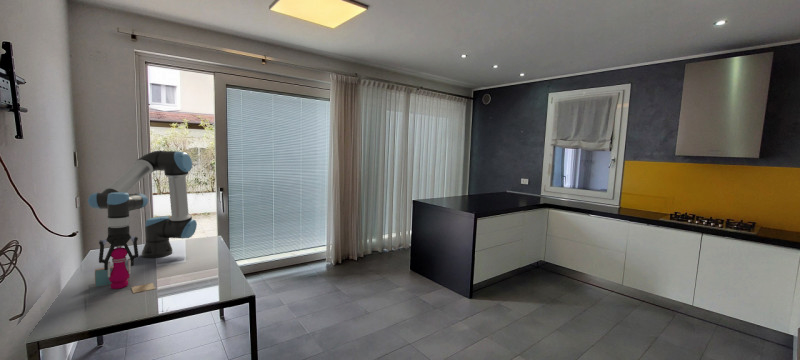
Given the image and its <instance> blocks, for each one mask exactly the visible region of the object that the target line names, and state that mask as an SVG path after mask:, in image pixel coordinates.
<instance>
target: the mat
mask: <svg viewBox="0 0 800 360" xmlns="http://www.w3.org/2000/svg"><path fill="white" fill-rule="evenodd" d="M127 281H128V286H126V287H124V288H119V289H112V288H111V284H110V285H105V286H99V287H95V283H92V284H88V292H89V293H88V296H89V298H93V297H99V296H104V295H108V294H114V293H120V292H124V291H128V290H132V288H131V287H132V286H131V283H130V280H129V279H128V280H127Z"/></svg>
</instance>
